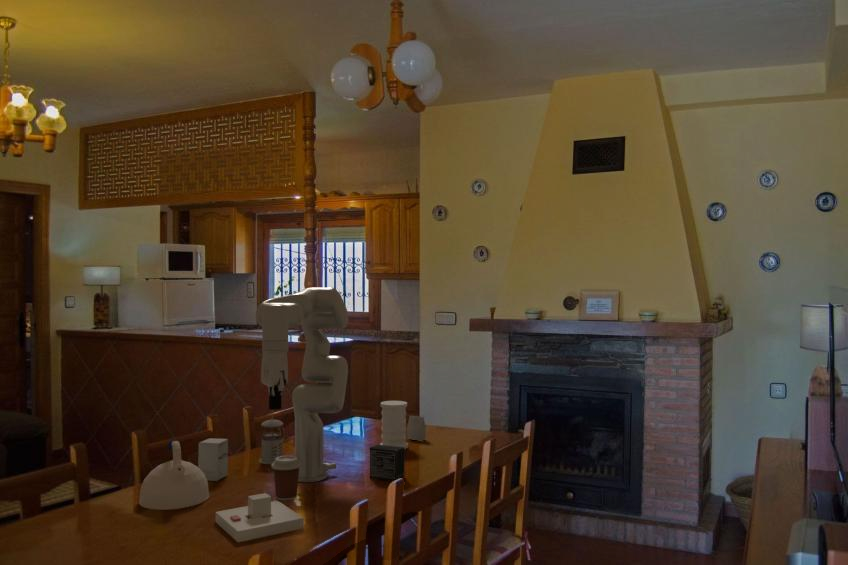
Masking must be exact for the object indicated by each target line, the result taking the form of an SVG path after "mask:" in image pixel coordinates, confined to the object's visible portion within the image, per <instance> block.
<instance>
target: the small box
mask: <svg viewBox="0 0 848 565" xmlns="http://www.w3.org/2000/svg"><path fill="white" fill-rule="evenodd" d="M403 477H404V478H405V450H404V447H397V446H387V445H380V444H377V445H374V446H371V447H369V478H370V479H373V480H382V481H389V482H394V481H393V480H396V479H398V478H402V479H404V478H403Z"/></svg>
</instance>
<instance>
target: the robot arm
mask: <svg viewBox="0 0 848 565" xmlns="http://www.w3.org/2000/svg"><path fill="white" fill-rule="evenodd" d="M348 312H349V311H348V308H347V307H346V304H345V302H344V300H343V297H342V295H341V294H340V292H339V291H338V290H337V289H336V288H334V287H305V288H304V289H301V290H300V291H298V292H296V293H294V294H288V295H283V296H278V297H273V298H269V299H267V300H264V301H262V302H261V303H260V304H259V305H258V306H257V309H256V311H255V320H256V322H257V324H258V325H259V326H260V327H262V328H261V329H262V331H261V332H262V333H261V338H262V341H261V344H262V345H261V346H262V348H261V351H262V357H261V370H260V382H261V384H262V385H265V386H266V387H267V388H268V391H267V392H268V408H269V409H268V410H271V411H272V410H273V411H276V410H281V409H282V395H283V392H284V391H285V386H287V385H288V383H289V363H288V362H289V361H288V352H289V329H290V328H291V329H293V328H297V327H299V326H300V325H301V329H302V333H303V334H304V338H305V350H304V355H303V361H302V365H301V366H302V367H301V377H302V379H303V380H304V381H305V382H308V383H305V384H304V383H303V384H300V385H297V386H296V387H295V388H294V389H293V392H292V394H291V395H292V396H291V399H292V400H291V401H292V408H293V414H294V456H296V457H297V458H298V460H299V462H301V463H302V465H301V467H299V477H298V483H314V482H320V481H323V480H325V479H327V478H328V471H329V470H336V469H337V463H336V462H334V463H329V462H326V463H325V462H324V423H323V421H322V419H321V417H320V416H319V413H320V414H337V413H338V414H339V413H340V412H341V411H342V410H343V407H344V405H345V404H344V403H345V398H346V390H347V389H346V388H347V384H348V383H347V381H348V377H349V376H348V375H349V366H348V361H347V359H346V358H345V357H344V356H341V355H330V350H331V343H330V340H329V339H328V338H327V336H326V335H325V334H324V332H322V330H342V329H345V328H346V327H347V325H348V324H349V313H348Z"/></svg>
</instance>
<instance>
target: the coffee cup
mask: <svg viewBox="0 0 848 565" xmlns="http://www.w3.org/2000/svg"><path fill="white" fill-rule="evenodd" d="M270 465H271V466H270V467H271V469H273V478H274V493H275V499H276V501H282V502H283V501H293V500H295V499H297V498H298V487H299V482H298V477H299V467H301V465H302V463H301V462H299V460H298V458H297V457H296V456H295V455H283V456H280V457H277V458H276V459H275V461H274V463H272V464H270Z"/></svg>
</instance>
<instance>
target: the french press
mask: <svg viewBox="0 0 848 565" xmlns="http://www.w3.org/2000/svg"><path fill="white" fill-rule="evenodd" d="M273 412H274V410H271V419H267V420H264V421H263V422H261V424H260V425H261V426H262V427H263V428H271V432H267V433H266V432H265V433H263V434H262V438H261V453H260V454H261V458H260V459H259V460H258V463H260V464H264V465H272V463H274V461H275V459H276V458H277V457H280V456H284V455H283V450H284V448H283V444H284V443H283V442H284V440H285V436H283V433H281V428H282V430H283V432H285V429H284V427H283V425H284V422H282V421H281V420H279V419H274V418H273V417H274V416H273V415H274V414H273ZM273 428H276V430H279V432H273V431H274V430H273ZM282 436H283V437H282Z"/></svg>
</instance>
